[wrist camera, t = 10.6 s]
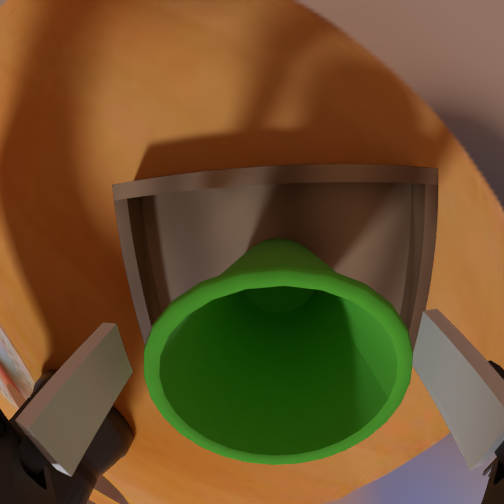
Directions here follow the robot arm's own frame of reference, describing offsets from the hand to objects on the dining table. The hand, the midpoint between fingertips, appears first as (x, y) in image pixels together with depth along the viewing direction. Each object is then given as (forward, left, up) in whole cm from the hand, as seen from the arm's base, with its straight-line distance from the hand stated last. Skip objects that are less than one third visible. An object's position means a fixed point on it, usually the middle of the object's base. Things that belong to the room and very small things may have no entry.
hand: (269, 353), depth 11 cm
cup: (0, 0, -8) cm, 8 cm away
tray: (0, 0, -9) cm, 9 cm away
